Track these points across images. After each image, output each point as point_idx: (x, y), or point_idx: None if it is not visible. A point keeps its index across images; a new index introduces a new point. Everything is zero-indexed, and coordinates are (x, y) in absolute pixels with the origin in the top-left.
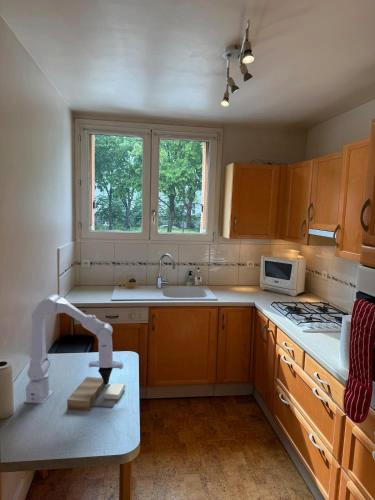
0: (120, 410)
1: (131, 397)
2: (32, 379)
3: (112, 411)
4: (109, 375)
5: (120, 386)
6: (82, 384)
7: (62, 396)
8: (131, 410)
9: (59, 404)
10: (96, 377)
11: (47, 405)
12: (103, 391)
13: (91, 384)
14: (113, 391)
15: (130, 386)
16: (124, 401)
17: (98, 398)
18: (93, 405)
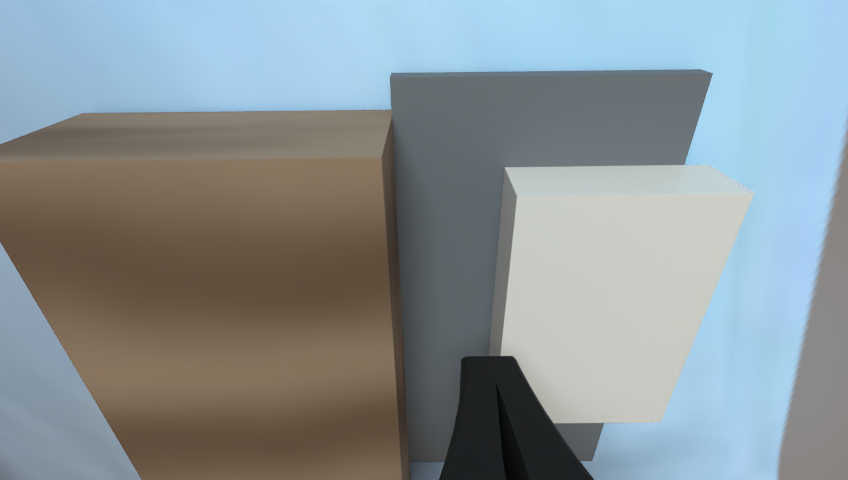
0: (656, 456)
1: (769, 297)
2: None
3: (593, 469)
4: (563, 468)
5: (677, 271)
6: (119, 383)
7: (24, 355)
8: (749, 449)
9: (119, 444)
10: (172, 161)
11: (39, 461)
12: (422, 273)
13: (250, 374)
14: (590, 379)
15: (786, 36)
16: (688, 361)
17: (423, 388)
18: (422, 459)
